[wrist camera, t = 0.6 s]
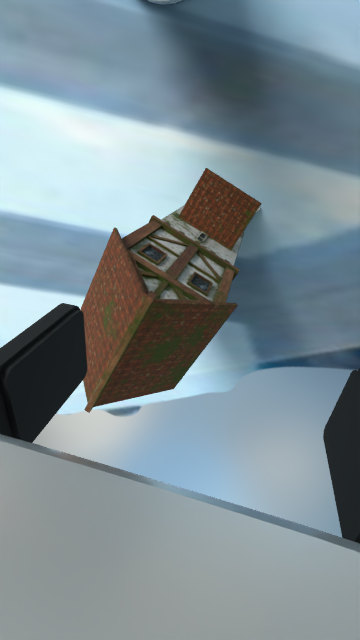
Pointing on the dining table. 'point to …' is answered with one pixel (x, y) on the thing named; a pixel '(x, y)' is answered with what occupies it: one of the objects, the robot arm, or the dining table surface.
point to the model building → (163, 294)
